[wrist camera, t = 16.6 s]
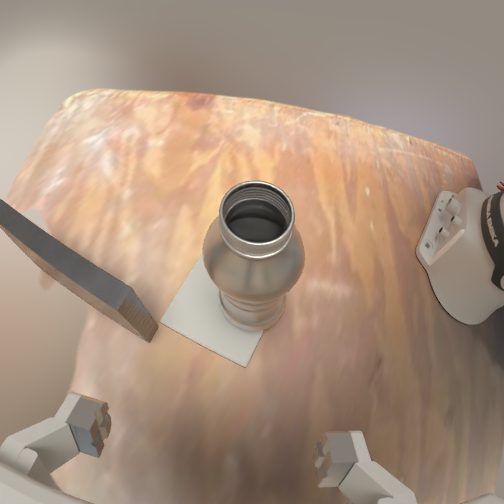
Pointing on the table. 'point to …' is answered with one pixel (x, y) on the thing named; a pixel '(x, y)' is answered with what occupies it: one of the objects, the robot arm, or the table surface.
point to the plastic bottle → (254, 254)
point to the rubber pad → (208, 318)
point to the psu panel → (78, 274)
